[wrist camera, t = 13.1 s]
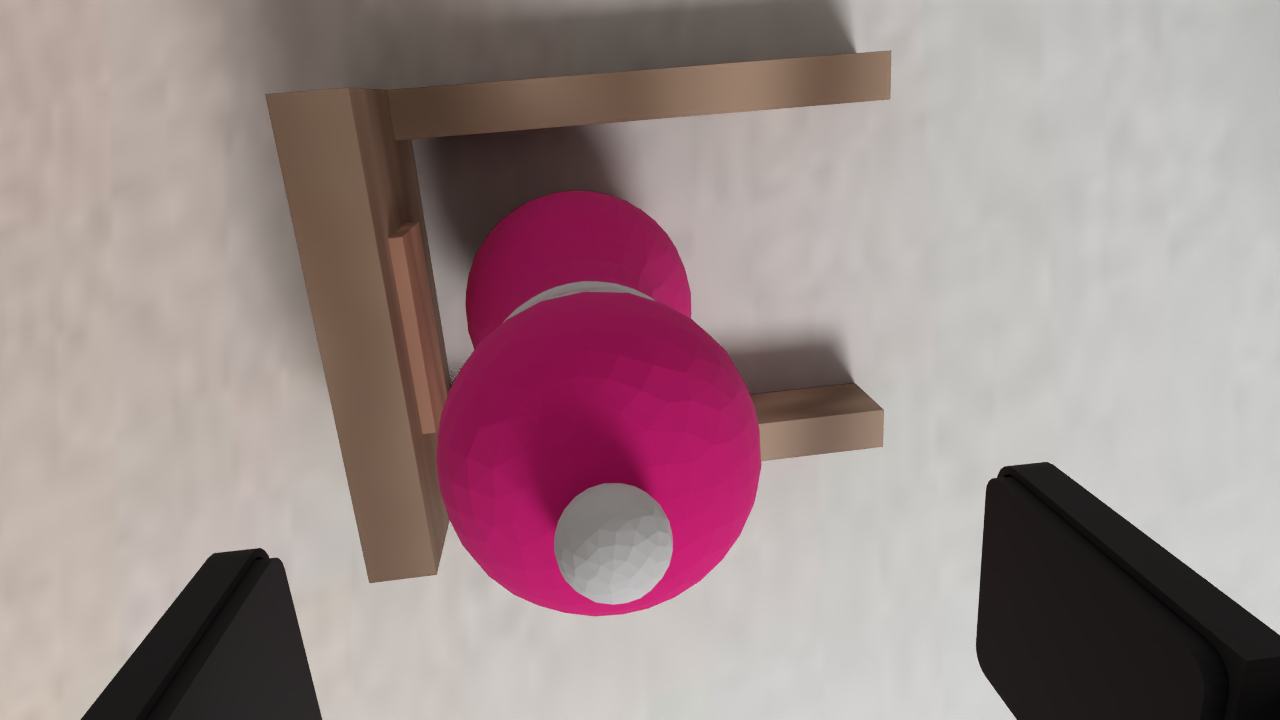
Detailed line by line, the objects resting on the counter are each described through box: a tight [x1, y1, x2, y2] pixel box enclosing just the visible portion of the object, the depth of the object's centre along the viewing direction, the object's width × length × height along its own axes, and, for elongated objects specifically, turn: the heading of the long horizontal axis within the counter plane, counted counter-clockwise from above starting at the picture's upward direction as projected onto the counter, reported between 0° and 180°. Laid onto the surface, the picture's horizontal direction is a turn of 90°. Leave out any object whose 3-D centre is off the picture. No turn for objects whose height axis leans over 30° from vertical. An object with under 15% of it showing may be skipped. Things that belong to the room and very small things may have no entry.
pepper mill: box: [436, 191, 761, 616], centre depth 21 cm, size 7×7×20 cm
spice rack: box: [265, 51, 891, 583], centre depth 26 cm, size 18×14×8 cm
